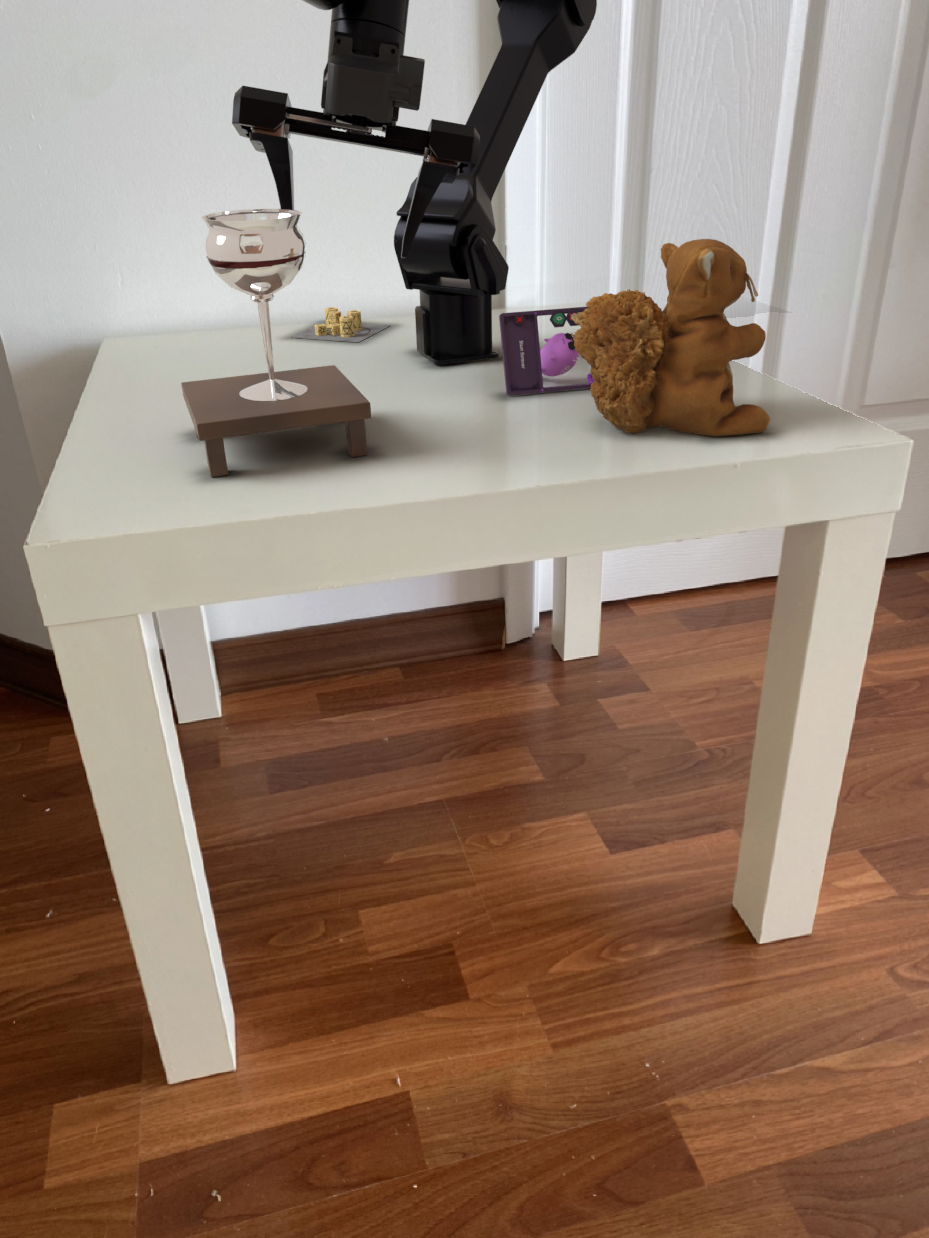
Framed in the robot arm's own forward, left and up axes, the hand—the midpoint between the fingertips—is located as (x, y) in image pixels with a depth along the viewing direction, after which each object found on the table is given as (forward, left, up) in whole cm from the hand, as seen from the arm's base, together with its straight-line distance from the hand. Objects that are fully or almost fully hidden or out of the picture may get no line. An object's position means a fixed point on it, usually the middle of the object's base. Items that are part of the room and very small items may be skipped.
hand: (347, 249), depth 77 cm
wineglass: (+9, +10, -8) cm, 16 cm away
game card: (-16, +4, -12) cm, 21 cm away
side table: (+9, +11, -12) cm, 18 cm away
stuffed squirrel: (-20, +17, -12) cm, 29 cm away
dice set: (-4, -23, -12) cm, 27 cm away
